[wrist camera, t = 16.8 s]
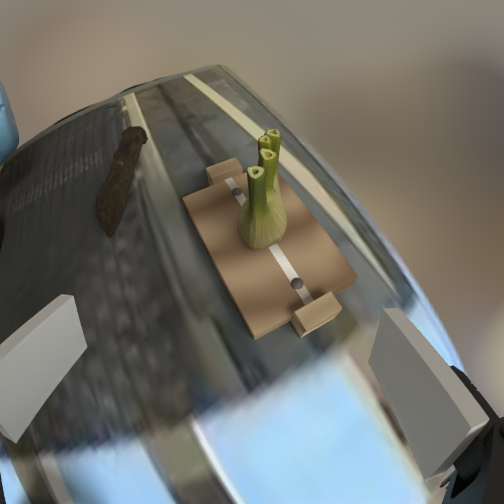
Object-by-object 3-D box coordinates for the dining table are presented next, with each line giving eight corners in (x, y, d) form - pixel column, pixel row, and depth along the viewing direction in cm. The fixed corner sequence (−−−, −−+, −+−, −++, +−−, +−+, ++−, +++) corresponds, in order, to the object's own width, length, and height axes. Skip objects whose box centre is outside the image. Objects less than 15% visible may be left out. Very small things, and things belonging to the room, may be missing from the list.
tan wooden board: (180, 197, 34) (175, 180, 32) (262, 165, 37) (263, 147, 34) (264, 357, 25) (265, 353, 22) (362, 299, 28) (373, 288, 25)
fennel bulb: (259, 266, 27) (261, 181, 17) (225, 236, 29) (210, 147, 19) (296, 230, 29) (315, 142, 19) (263, 205, 31) (265, 115, 21)
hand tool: (128, 144, 41) (120, 123, 37) (149, 141, 41) (142, 119, 37) (94, 240, 32) (78, 220, 28) (120, 239, 32) (105, 218, 28)
